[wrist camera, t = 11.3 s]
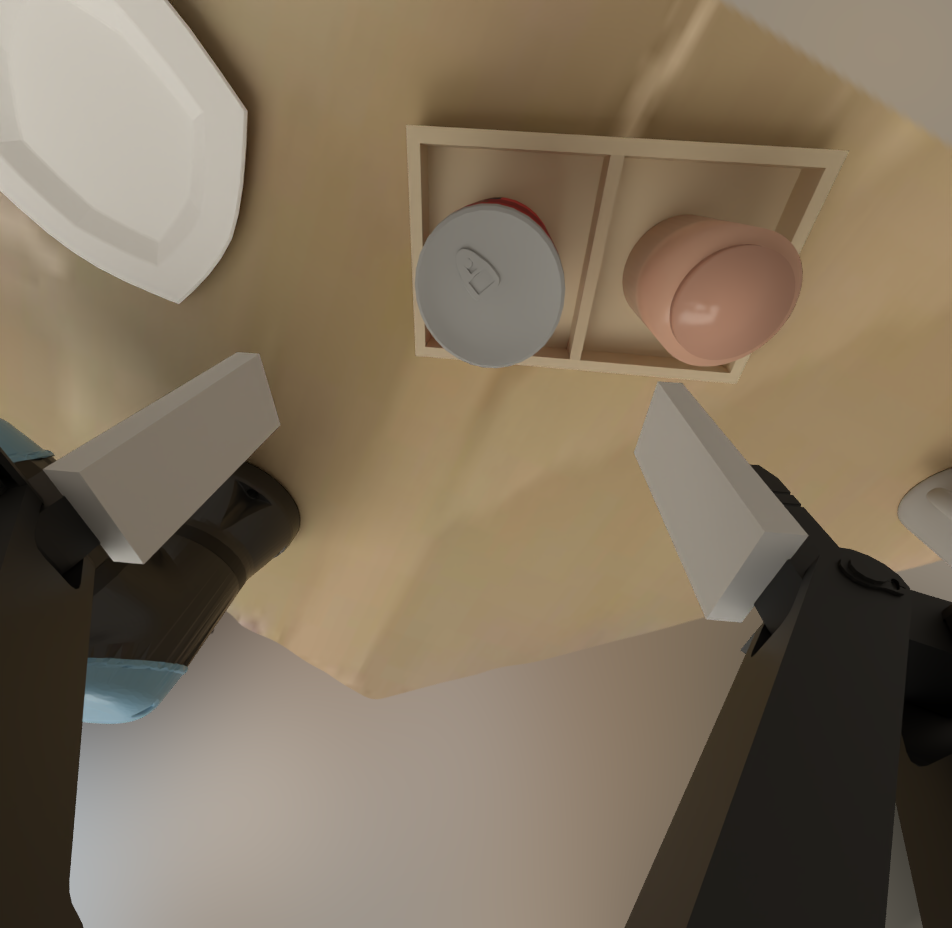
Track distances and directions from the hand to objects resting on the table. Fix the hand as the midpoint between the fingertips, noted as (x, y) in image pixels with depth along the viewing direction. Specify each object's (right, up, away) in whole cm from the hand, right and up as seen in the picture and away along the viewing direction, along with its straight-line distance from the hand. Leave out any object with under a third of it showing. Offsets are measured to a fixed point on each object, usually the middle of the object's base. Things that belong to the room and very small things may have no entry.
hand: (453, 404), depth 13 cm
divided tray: (+9, +13, +15) cm, 22 cm away
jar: (+15, +12, +15) cm, 24 cm away
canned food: (+3, +13, +16) cm, 20 cm away
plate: (-24, +21, +14) cm, 35 cm away
